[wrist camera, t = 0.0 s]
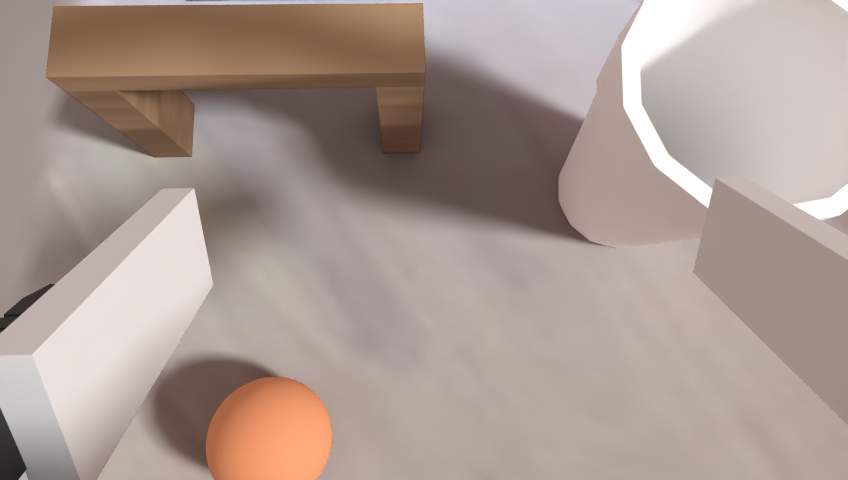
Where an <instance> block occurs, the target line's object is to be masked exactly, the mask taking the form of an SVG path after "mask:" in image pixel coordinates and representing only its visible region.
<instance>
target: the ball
mask: <svg viewBox="0 0 848 480" xmlns="http://www.w3.org/2000/svg"><path fill="white" fill-rule="evenodd" d="M331 445H332V427H331V421H330V418H329V415H328V412H327V410H326V408H325V406H324V404H323V402H322V401H321V399H320V398H319V397H318V396H317V395H316V394H315V393H314V392H313V391H312V390H311V389H310V388H308V387H307V386H305V385H304V384H302V383H300V382H298V381H296V380H292V379H289V378H284V377H266V378H261V379H256V380H254V381H251V382H249V383H247V384H245V385H243V386H241V387H239V388H238V389H236V390H235V391H233V392H232V393H231V394H230V395H229V396H228V397H227V398H226V399H225V400H224V401H223V402H222V404H221V405H220V406H219V408H218V409H217V411H216V412H215V414H214V416H213V418H212V420H211V423H210V425H209V428H208V433H207V438H206V457H207V463H208V466H209V469H210V472H211V474H212V476H213V478H214V479H215V480H316V479H317V478H318V477H319V475H320V474H321V472H322V471H323V469H324V467H325V465H326V462H327V460H328V457H329V454H330V450H331Z"/></svg>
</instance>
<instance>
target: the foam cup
mask: <svg viewBox="0 0 848 480" xmlns="http://www.w3.org/2000/svg"><path fill="white" fill-rule="evenodd" d="M731 177H745V178H747V179H749V180H750V181H752V182H754V183H756V184H757V185H759V186H761V187H763V188H764V189H766V190H768V191H770V192H771V193H773V194H775V195H777V196H779V197H780V198H782V199H784V200H786V201H787V202H789V203H791V204H793V205H794V206H796V207H798V208H800V209H801V210H803V211H805V212H807V213H809V214H810V215H812V216H814V217H816V218H817V219H819V220H821V221H822V220H825V219H828V218H832V217H835V216H839V215H841V214H842V213H843V212H845V211H846V210H847V209H848V0H643V1H642V3H641V4H640V6H639V7H638V9H637V10H636V11H635V13H634V14H633V16H632V17H631V19H630V20H629V22H628V23H627V24H626V26H625V27H624V29H623V30H622V32H621V33H620V35H619V37H618V39H617V41H616V43H615V45H614V47H613V49H612V51H611V53H610V55H609V57H608V59H607V61H606V62H605V64H604V66H603V68H602V70H601V72H600V74H599V76H598V78H597V93H596V95H595V98H594V100H593V102H592V104H591V106H590V109H589V111H588V113H587V115H586V117H585V120H584V122H583V124H582V126H581V128H580V131H579V133H578V135H577V137H576V139H575V142H574V144H573V146H572V148H571V150H570V153H569V155H568V157H567V159H566V161H565V164H564V166H563V168H562V170H561V172H560V175H559V177H558V179H559V204H560V206H561V208H562V210H563V212H564V214H565V216H566V218H567V220H568V222H569V224H570V225H571V226H572V227H573V228H574V229H576V230H577V231H578V232H579V233H581V234H582V235H583V236H584V237H585V238H587V239H588V240H589V241H590V242H594V243H598V244H602V245H605V246H609V247H613V248H624V247H633V246H642V245H651V244H659V243H668V242H677V241H686V240H695V239H701V236H702V232H703V228H704V224H705V220H706V215H707V211H708V207H709V203H710V198H711V194H712V190H713V186H714V181H715V178H731Z"/></svg>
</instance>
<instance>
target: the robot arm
mask: <svg viewBox="0 0 848 480" xmlns="http://www.w3.org/2000/svg"><path fill="white" fill-rule="evenodd" d="M693 273H694V274H695V275H696V276H697V277H698V278H699V279H700V280H701V281H702V282H703V283H704V284H705V285H706V286H707V287H708V288H709V289H710V290H711V291H712V292H713V293H714V294H715V295H716V296H717V297H718V298H719V299H720V300H721V301H723V302H724V303H725V304H726V305H727V306H728V307H729V308H730V309H731V310H732V311H733V312H734V313H735V314H736V315H737V316H738V317H739V318H740V319H741V320H742V321H743V322H744V323H745V324H746V325H747V326H748V327H749V328H750V329H751V330H752V331H753V332H754V333H755V334H756V335H757V336H758V337H759V338H760V339H761V340H762V341H763V342H764V343H765V344H766V345H767V346H768V347H769V348H770V349H771V350H772V351H773V352H774V353H775V354H776V355H777V356H778V357H779V358H780V359H781V360H782V361H783V362H784V363H785V364H786V365H787V366H788V367H789V368H790V369H791V370H792V371H793V372H794V373H795V374H796V375H798V376H799V377H800V378H801V379H802V380H803V381H804V382H805V383H806V384H807V385H808V386H809V387H810V388H811V389H812V390H813V391H814V392H815V393H816V394H817V395H818V396H819V397H820V398H821V399H822V400H823V401H824V402H825V403H826V404H827V405H828V406H829V407H830V408H831V409H832V410H833V411H834V412H835V413H836V414H837V415H838V416H839V417H840V418H841V419H842V420H843V421H844V422H845V423H846V424H847V425H848V236H847V235H846V234H844V233H842V232H840V231H839V230H837V229H835V228H833V227H831V226H830V225H828V224H826V223H824V222H823V221H821V220H819V219H817V218H816V217H814V216H812V215H810V214H809V213H807V212H805V211H803V210H801V209H800V208H798V207H796V206H794V205H793V204H791V203H789V202H787V201H786V200H784V199H782V198H780V197H779V196H777V195H775V194H773V193H771V192H770V191H768V190H766V189H764V188H763V187H761V186H759V185H757V184H756V183H754V182H752V181H750V180H749V179H747V178H745V177H731V178H715V181H714V186H713V190H712V194H711V198H710V203H709V207H708V211H707V215H706V220H705V224H704V228H703V232H702V236H701V241H700V245H699V249H698V253H697V258H696V262H695V266H694V270H693ZM212 286H213V281H212V276H211V271H210V266H209V261H208V256H207V251H206V246H205V241H204V235H203V230H202V225H201V220H200V215H199V210H198V205H197V200H196V195H195V190H194V188H169V189H162V190H160V191H159V192H158V193H157V194H156V195H155V196H154V197H153V198H151V199H150V200H149V201H148V202H147V203H146V204H145V205H144V206H143V207H141V208H140V209H139V210H138V211H137V212H136V213H135V214H134V215H132V216H131V217H130V218H129V219H128V220H127V221H126V222H125V223H123V224H122V225H121V226H120V227H119V228H118V229H117V230H116V231H114V232H113V233H112V234H111V235H110V236H109V237H108V238H107V239H105V240H104V241H103V242H102V243H101V244H100V245H99V246H98V247H97V248H95V249H94V250H93V251H92V252H91V253H90V254H89V255H88V256H86V257H85V258H84V259H83V260H82V261H81V262H80V263H79V264H77V265H76V266H75V267H74V268H73V269H72V270H71V271H70V272H68V273H67V274H66V275H65V276H64V277H63V278H62V279H61V280H60V281H58V282H57V283H56V284H49V285H47V286H46V287H44V288H42V289H40V290H38V291H36V292H34V293H32V294H30V295H28V296H26V297H24V298H23V299H21V300H20V301H19V302H18V303H17V304H16V305H14V306H13V307H12V308H11V309H10V310H9V311H7V312H6V313H5V314H4V318H0V480H18V479H19V478H20V477H21V476H22V474H23V473H24V472H26V474H27V477H28V479H29V480H96V479H97V478H98V476H99V474H100V473H101V471H102V469H103V468H104V466H105V464H106V463H107V461H108V459H109V458H110V456H111V454H112V453H113V451H114V449H115V448H116V446H117V444H118V443H119V441H120V439H121V438H122V436H123V434H124V433H125V431H126V429H127V428H128V426H129V424H130V423H131V421H132V419H133V418H134V416H135V414H136V413H137V411H138V409H139V408H140V406H141V404H142V403H143V401H144V399H145V398H146V396H147V394H148V393H149V391H150V389H151V388H152V386H153V385H154V383H155V381H156V380H157V378H158V376H159V375H160V373H161V371H162V370H163V368H164V366H165V365H166V363H167V361H168V360H169V358H170V356H171V355H172V353H173V351H174V350H175V348H176V346H177V345H178V343H179V341H180V340H181V338H182V336H183V335H184V333H185V331H186V330H187V328H188V326H189V325H190V323H191V321H192V320H193V318H194V316H195V315H196V313H197V311H198V310H199V308H200V306H201V305H202V303H203V301H204V300H205V298H206V296H207V295H208V293H209V291H210V290H211V288H212Z"/></svg>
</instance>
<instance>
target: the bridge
mask: <svg viewBox="0 0 848 480" xmlns="http://www.w3.org/2000/svg"><path fill="white" fill-rule="evenodd" d="M46 78H48V79H49V80H50V81H52V82H53V83H55V84H56V85H57V86H59V87H60V88H61V89H63V90H64V91H65V92H67V93H68V94H69V95H71V96H72V97H74V98H75V99H76V100H78V101H79V102H80V103H82V104H83V105H84V106H86V107H87V108H88V109H90V110H91V111H93V112H94V113H95V114H97V115H98V116H99V117H101V118H102V119H103V120H105V121H106V122H107V123H109V124H110V125H112V126H113V127H114V128H116V129H117V130H118V131H120V132H121V133H122V134H124V135H125V136H126V137H128V138H129V139H130V140H132V141H133V142H135V143H136V144H137V145H139V146H140V147H141V148H143V149H144V150H145V151H147V152H148V153H149V154H151V155H152V156H154V157H192V143H193V123H194V104H193V103H192V102H191V101H190V100H189V99H188V98H187V97H186V95H185V94H184V93H183V92H182V91H181V90H207V89H281V88H356V87H376V93H377V102H378V110H379V119H380V127H381V136H382V144H383V153H420V139H421V125H422V111H423V97H424V84H425V48H424V19H423V3H403V4H273V5H142V6H53V14H52V24H51V34H50V44H49V54H48V63H47V72H46Z"/></svg>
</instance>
